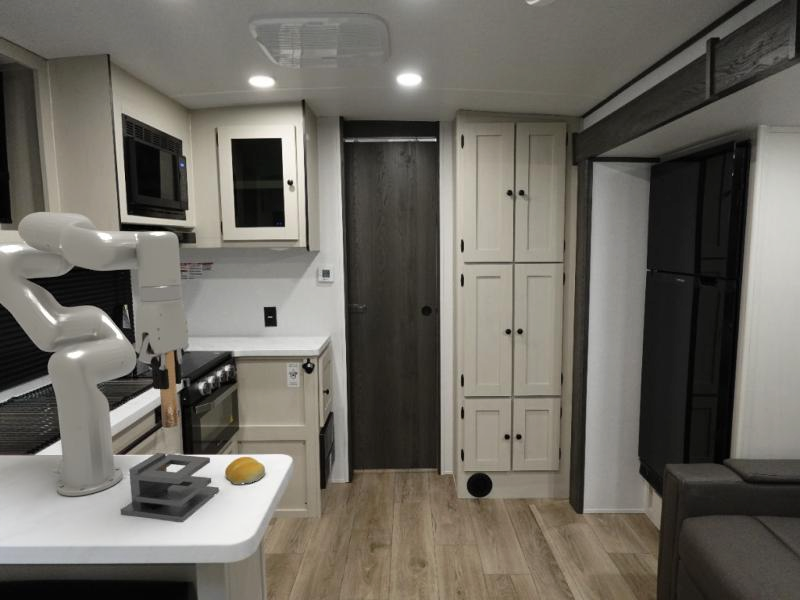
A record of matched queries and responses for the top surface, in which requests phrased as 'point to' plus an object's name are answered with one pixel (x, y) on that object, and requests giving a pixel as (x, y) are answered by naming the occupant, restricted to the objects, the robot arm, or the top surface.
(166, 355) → the brown rod
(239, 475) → the bread roll
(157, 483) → the collar stand
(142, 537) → the top surface
